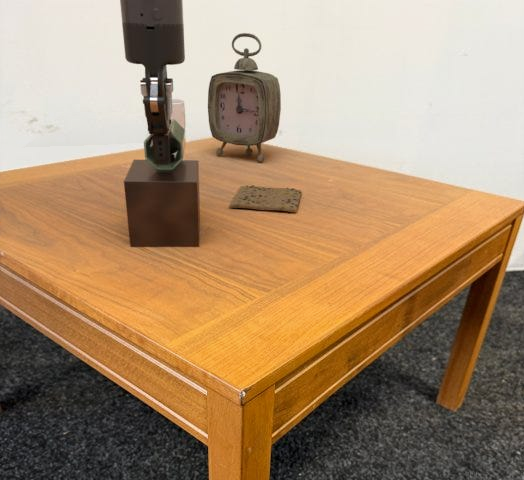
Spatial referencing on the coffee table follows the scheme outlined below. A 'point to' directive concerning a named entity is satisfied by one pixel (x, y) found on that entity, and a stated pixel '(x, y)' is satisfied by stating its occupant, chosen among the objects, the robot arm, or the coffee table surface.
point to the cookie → (267, 198)
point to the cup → (176, 147)
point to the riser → (163, 204)
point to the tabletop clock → (244, 104)
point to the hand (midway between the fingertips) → (162, 163)
